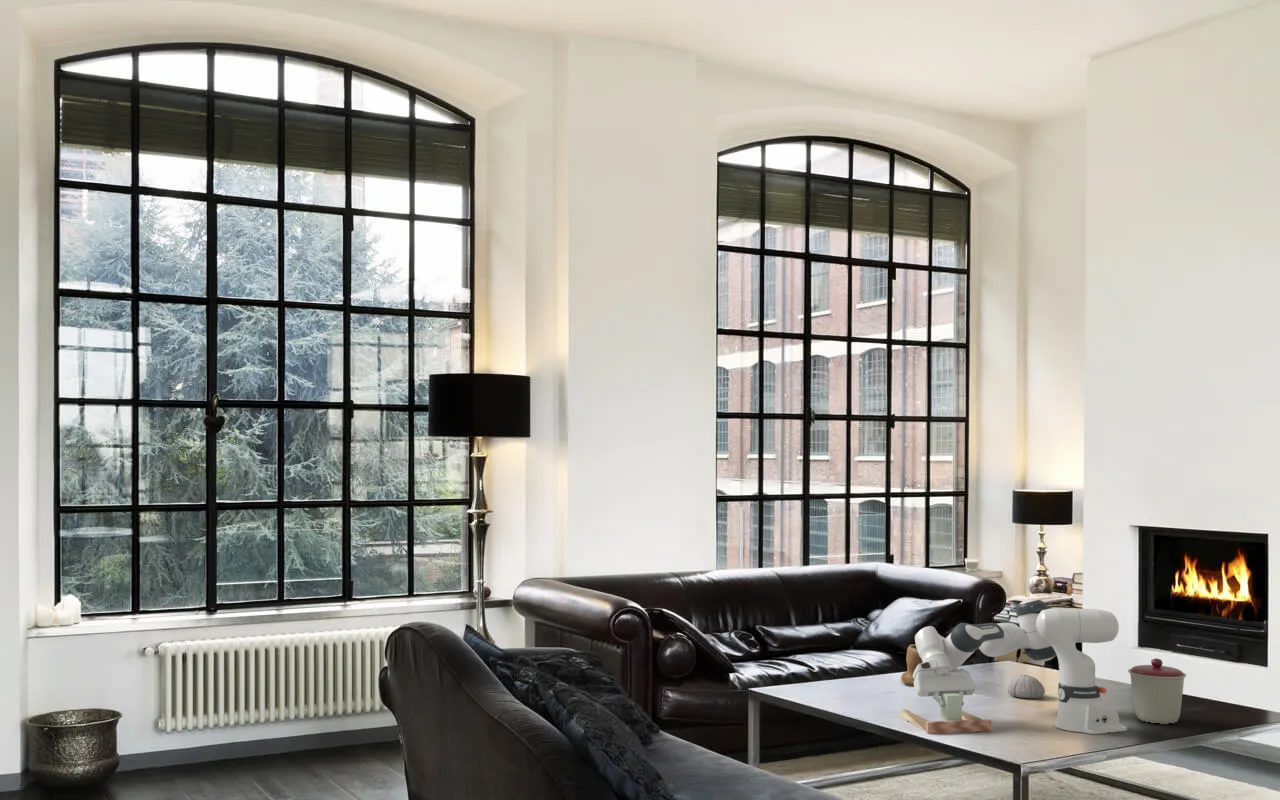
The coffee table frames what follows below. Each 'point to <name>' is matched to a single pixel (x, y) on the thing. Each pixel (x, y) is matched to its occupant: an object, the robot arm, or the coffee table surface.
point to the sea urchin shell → (1025, 687)
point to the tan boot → (911, 664)
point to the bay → (949, 723)
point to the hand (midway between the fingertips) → (952, 705)
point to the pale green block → (951, 706)
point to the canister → (1157, 692)
